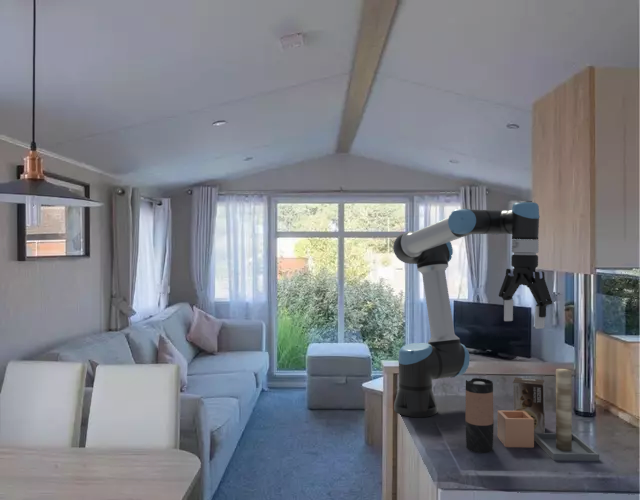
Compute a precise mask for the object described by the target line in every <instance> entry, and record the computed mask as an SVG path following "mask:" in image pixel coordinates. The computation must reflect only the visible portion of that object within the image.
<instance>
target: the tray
mask: <svg viewBox="0 0 640 500" xmlns="http://www.w3.org/2000/svg"><path fill="white" fill-rule="evenodd" d="M534 443H536V444H537V445H538V446H539V447H540V448H541V449H542V450H543V451H544V452H545V453H546V454H547V455H548V456H549V457H550V459H552V460H553V461H574V462H575V461H578V462H579V461H583V462H599V461H600V453H598V452H597V451H596V450H595V449H593V448H592V447H591V446H590V445H588V443H586V442H585V441H584V440H582V439H581V438H580V437H579V436H578V435H576V434H575V433H573V432H572V450H570V451H563V450H559V449H557V448H556V432H545V433H535V432H534Z"/></svg>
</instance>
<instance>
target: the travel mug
mask: <svg viewBox="0 0 640 500" xmlns="http://www.w3.org/2000/svg"><path fill="white" fill-rule="evenodd" d="M464 418H465V441H466V442H465V445H466V446H465V447H466V449H467V450H468V451H471V452H474V453H479V454H487V453H488V454H489V453H491V452H493V450H494V448H493V447H494V382H493V381H492V380H491V379H486V378H480V377H479V378H477V377H475V378H471V380H467V379H465V417H464Z"/></svg>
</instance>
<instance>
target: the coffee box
mask: <svg viewBox="0 0 640 500" xmlns="http://www.w3.org/2000/svg"><path fill="white" fill-rule="evenodd" d="M512 396H513V397H512V399H513V405H512V406H513V411H525V412H527V413H528V414H529V415H530V416H531V417H532V418H533V419H534V433H546V431H545V430H546V413H545V412H546V411H545V410H546V409H545V405H546V404H545V380H544V379H538V378H537V379H536V378H528V377H526V378H525V377H514V379H513V381H512Z"/></svg>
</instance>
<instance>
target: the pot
mask: <svg viewBox="0 0 640 500" xmlns="http://www.w3.org/2000/svg"><path fill="white" fill-rule="evenodd" d="M534 433H535V432H534V419H533V418H532V417H531V416H530V415H529V414H528V413H527V412H525V411H514V410H501V409H500V410H499V409H498V410H497V438H498V440H499V441H500V442H501V443H502V445H503V446H504V447H505V448H535V441H534Z"/></svg>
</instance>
